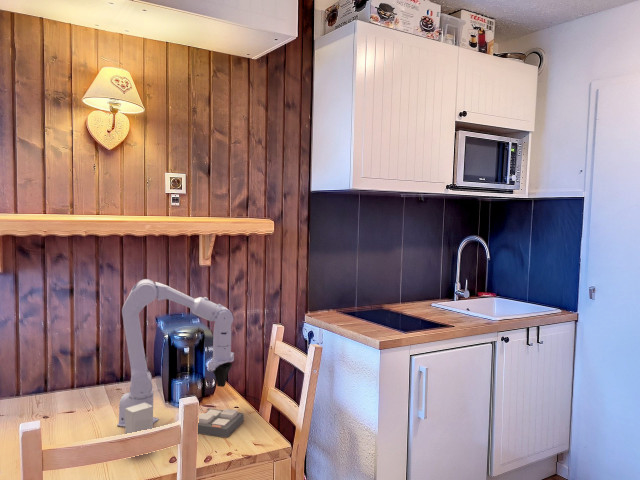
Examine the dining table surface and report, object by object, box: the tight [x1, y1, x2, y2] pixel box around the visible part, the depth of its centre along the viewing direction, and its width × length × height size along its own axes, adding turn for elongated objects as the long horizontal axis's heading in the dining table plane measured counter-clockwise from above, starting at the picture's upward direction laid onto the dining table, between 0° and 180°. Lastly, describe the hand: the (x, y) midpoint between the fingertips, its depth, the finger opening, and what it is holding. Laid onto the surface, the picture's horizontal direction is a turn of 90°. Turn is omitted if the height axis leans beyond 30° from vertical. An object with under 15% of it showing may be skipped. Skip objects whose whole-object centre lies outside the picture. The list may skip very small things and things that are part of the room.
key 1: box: [198, 412, 214, 424], centre depth 143 cm, size 4×4×2 cm
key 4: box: [220, 408, 239, 420], centre depth 147 cm, size 4×4×2 cm
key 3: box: [212, 418, 230, 427], centre depth 142 cm, size 4×4×2 cm
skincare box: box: [124, 402, 154, 435], centre depth 128 cm, size 6×4×12 cm
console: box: [197, 407, 245, 438], centre depth 145 cm, size 12×12×3 cm
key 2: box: [206, 408, 222, 417], centre depth 148 cm, size 4×4×2 cm
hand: (221, 385), depth 154 cm, fingers closed
